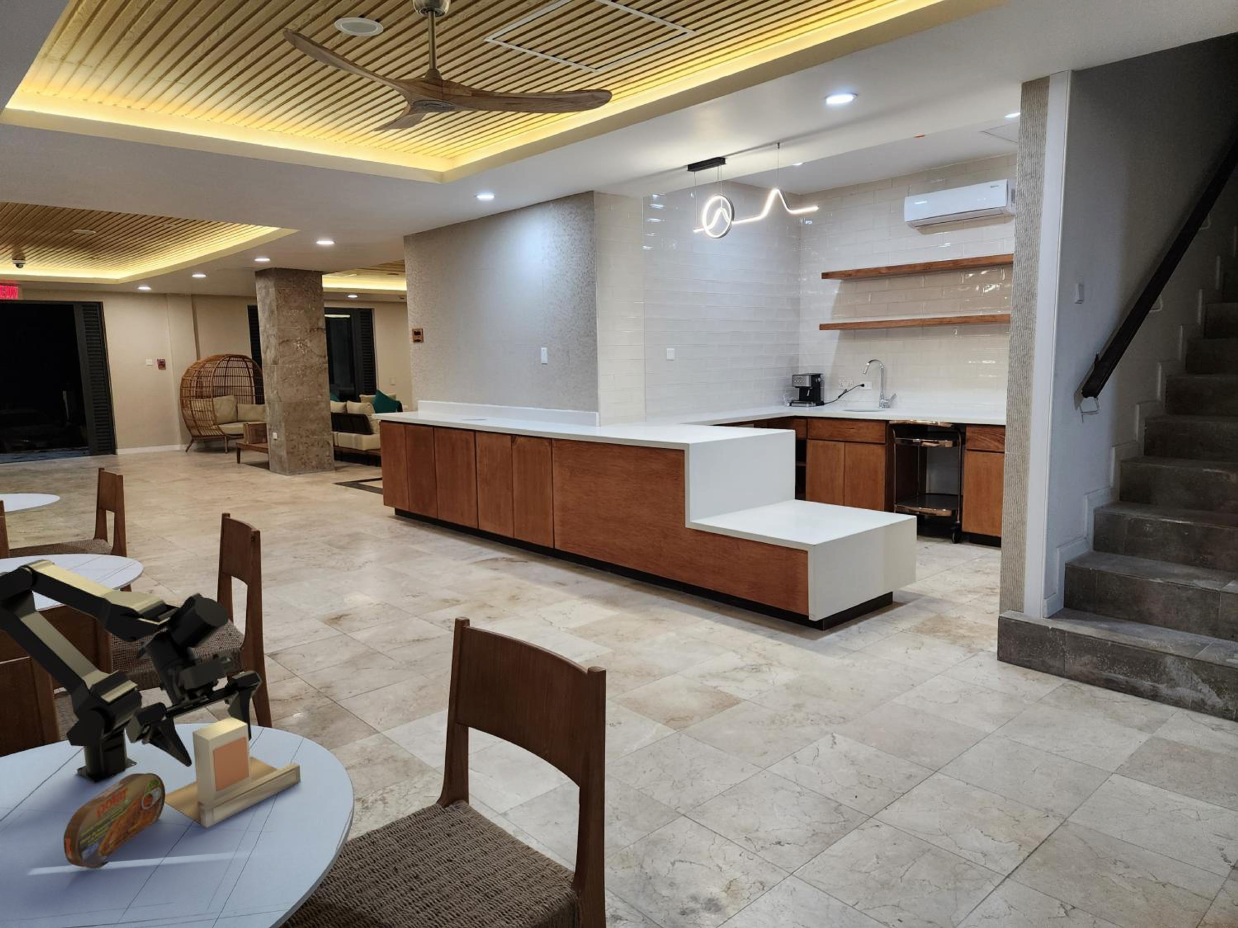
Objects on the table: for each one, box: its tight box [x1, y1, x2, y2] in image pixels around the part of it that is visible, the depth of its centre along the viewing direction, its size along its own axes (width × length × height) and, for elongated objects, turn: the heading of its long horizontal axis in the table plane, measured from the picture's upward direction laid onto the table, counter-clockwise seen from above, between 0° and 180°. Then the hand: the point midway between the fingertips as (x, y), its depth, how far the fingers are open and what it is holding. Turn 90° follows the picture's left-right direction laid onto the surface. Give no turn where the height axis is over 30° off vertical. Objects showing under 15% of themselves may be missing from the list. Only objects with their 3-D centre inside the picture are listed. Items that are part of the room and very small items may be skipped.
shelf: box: [164, 755, 301, 829], centre depth 123 cm, size 14×15×3 cm
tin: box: [63, 772, 166, 869], centre depth 110 cm, size 15×3×8 cm, turn 168°
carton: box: [192, 716, 252, 805], centre depth 120 cm, size 5×6×11 cm
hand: (220, 752), depth 120 cm, fingers open, 9 cm apart
